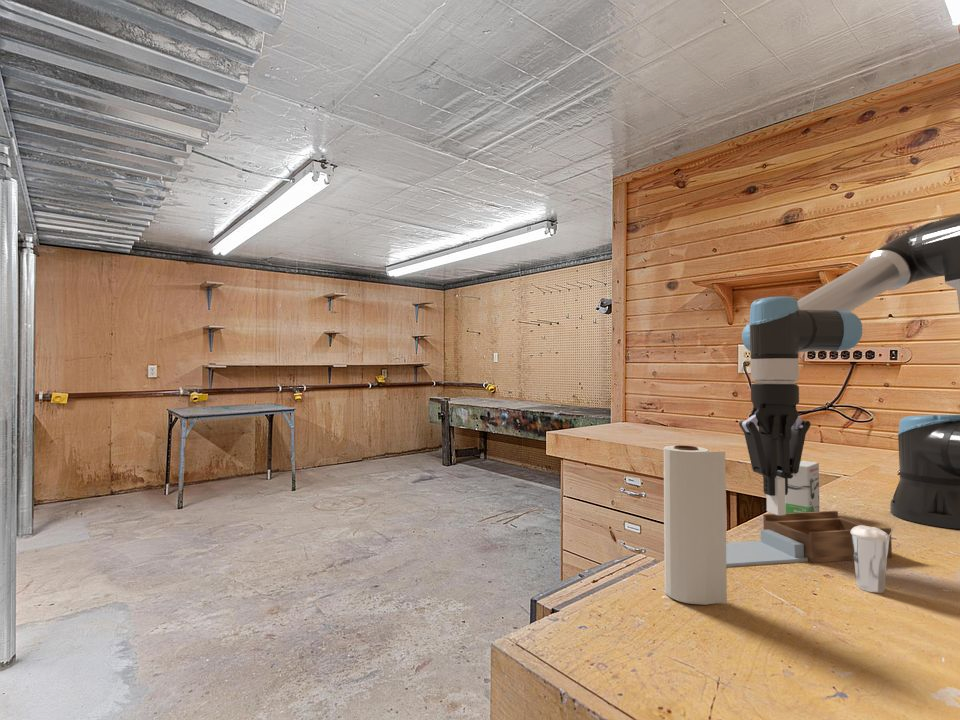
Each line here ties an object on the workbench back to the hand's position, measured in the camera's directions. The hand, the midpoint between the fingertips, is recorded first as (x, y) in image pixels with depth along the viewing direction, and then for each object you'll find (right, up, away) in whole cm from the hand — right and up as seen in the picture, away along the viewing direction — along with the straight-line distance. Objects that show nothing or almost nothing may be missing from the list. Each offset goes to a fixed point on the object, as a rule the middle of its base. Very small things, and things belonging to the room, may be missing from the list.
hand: (775, 513), depth 87 cm
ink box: (+20, -8, +23) cm, 32 cm away
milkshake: (+5, -7, -15) cm, 18 cm away
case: (+10, -7, +1) cm, 12 cm away
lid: (-6, -7, -1) cm, 10 cm away
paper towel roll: (-23, -7, -18) cm, 30 cm away
